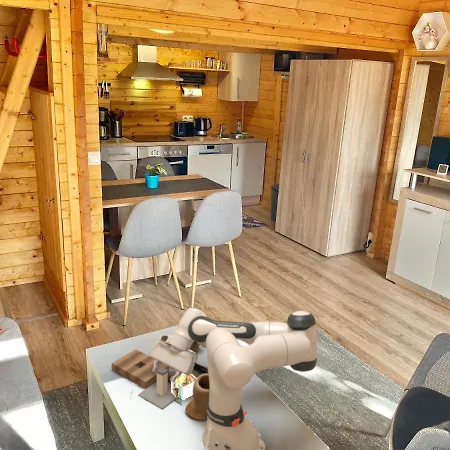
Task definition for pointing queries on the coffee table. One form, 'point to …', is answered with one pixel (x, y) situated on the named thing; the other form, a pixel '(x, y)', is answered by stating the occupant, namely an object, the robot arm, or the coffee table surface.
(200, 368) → the electric trimmer
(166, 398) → the mat
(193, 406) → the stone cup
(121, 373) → the wooden block with hole
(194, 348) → the cup
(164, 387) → the beige square peg
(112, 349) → the coffee table surface
